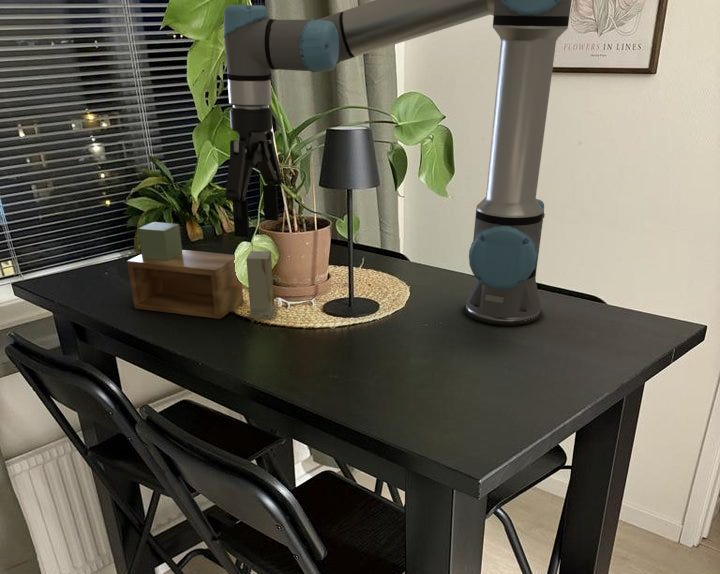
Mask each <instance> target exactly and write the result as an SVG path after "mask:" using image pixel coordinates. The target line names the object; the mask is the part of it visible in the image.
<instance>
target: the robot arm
mask: <svg viewBox="0 0 720 574" xmlns="http://www.w3.org/2000/svg"><path fill="white" fill-rule="evenodd" d="M572 1H573V0H371V1H368V2H365V3H363V4H360V5H357V6H354V7H351V8H348V9H345V10H343V11H339V12H336V13H332V14H330V15H327V16H324V17H321V18H314V19H313V18H312V19H310V18H309V19H276V18H275V19H274V18H269V13H268V9H267V7H266V6H265V5H260V4H259V5H257V4H254V5H252V4H229V5H227V6H226V7H225V8H224V9H223V40H224V48H225V49H224V50H225V60H226V61H225V62H226V70H227V71H226V73H227V74H226V77H227V85H226V90H227V91H228V103H229V104H230V106H232V107H230V109H229V120H230V121H229V123H230V129H231V130H232V131H233V132H237V134H238V140H236V139H231V140H230V141H229V161H228V170H227V178H226V186H225V193H224V196H225V199H226V200H227V201H231V202H232V215H233V216H232V217H233V231H234V237H238V238H250V237H251V236H250V234H251V233H250V216H249V202H248V200H247V199H246V196H247V192H248V188H249V184H250V179H251V175H252V172H253V169H254V168H255V167H256V166H257V168H258V171H259V173H260V175H261V178H262V180H263V182H264V184H263V185H262V197H263V198H262V199H263V200H262V201H263V218H264V220H265V221H274V222H275V221H277V222H278V221H279V203H278V186H282V185H283V179H282V178H283V177H282V172H281V167H280V163H279V158H278V154H277V151H276V146H275V141H274V139H275V138H274V132H273V131H271V130H272V129H273V110H272V109H271V108H270V106H271V104H272V103H273V100H272V99H273V98H272V84H271V83H272V82H271V70H273V71H274V70H275V71H277V70H283V71H297V72H299V71H301V72H311V73H320V72H331V71H333V70H334V69H335V68H336V65H337V64H340V63H341V62H344V61H347V60H351V59H353V58H356V57H359V56H362V55H366V54H369V53H372V52H375V51H378V50H382V49H385V48H389V47H391V46H395V45H397V44H398V45H399V44H401V43H403V42H408V41H410V40H414V39H417V38H421V37H423V36H427V35H430V34H433V33H437V32H439V31H442V30H446V29H449V28H452V27H455V26H458V25H462V24H464V23H468V22H471V21H474V20H477V19H481V18H484V17H487V16H493V17H492V28H493V30H494V32H495V33H496V34H497V35H498V37H499V39H500V47H499V57H498V67H497V68H498V69H497V80H496V88H495V99H494V110H493V121H492V129H491V131H492V132H491V142H490V152H489V162H488V172H487V183H486V194H485V197H484V198H483V199H482V200H481V201H480V202H479V203H478V204H477V205H476V208H475V219H474V227H473V228H474V230H473V240H472V242H471V244H470V248H469V251H468V263H469V267H470V270H471V272H472V274H473V276H474V278H475V279H474V282H473V284H472V287H471V289H470V292H469V293H468V296H467V298H466V302H465V315H467V316H468V317H469V318H471V319H473V320H474V321H478V322H479V323H484V324H489V325H492V326H494V325H495V326H506V327H507V326H508V327H509V326H510V327H511V326H513V327H514V326H523V325H527V324H531V323H534V322H535V321H537V320H539V318H540V316H541V310H542V309H541V308H542V306H541V299H540V296H539V290H538V285H537V279H536V277H537V269H538V262H539V255H540V254H539V253H540V248H541V247H540V246H541V239H542V238H541V237H542V230H543V222H544V219H545V215H546V214H545V202H544V201H542V199H538V198H537V192H538V184H539V177H540V176H539V175H540V170H541V169H540V168H541V161H542V155H543V154H542V153H543V146H544V137H545V130H546V124H547V123H546V121H547V116H548V115H547V114H548V109H549V108H548V107H549V100H550V92H551V84H552V78H553V77H552V76H553V68H554V61H555V54H556V53H555V52H556V45H557V41H558V39H559V38H560V37H561V36H562V34H564V33H565V32H566V31H567V30H568V29H569V22H570V15H571V9H572ZM539 313H540V314H539ZM538 314H539V315H538ZM537 315H538V316H537ZM536 316H537V317H536ZM534 317H535V318H534ZM532 318H533V319H532ZM529 319H530V320H529ZM525 320H526V321H525Z"/></svg>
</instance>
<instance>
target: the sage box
mask: <svg viewBox="0 0 720 574" xmlns="http://www.w3.org/2000/svg"><path fill="white" fill-rule="evenodd" d="M180 229H181V228H180V224H179V223H171V222H161V221H160V222H159V221H152V222H150V223H147V224H145V225H143V226H140V227H138V228H137V232H138V240H139V246H140V252H141V254H142V258H143V259H153V260H163V261H169V260H171V259H173V258H175V257H176V256H178V255H180V254H182V250H183V244H182V238H181V237H182V236H181V230H180Z"/></svg>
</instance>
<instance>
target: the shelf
mask: <svg viewBox="0 0 720 574" xmlns="http://www.w3.org/2000/svg"><path fill="white" fill-rule="evenodd" d="M235 255H236V254H229V253H219V252H210V251H200V250H199V251H198V250H189V249H182V254H180V255H178V256H176V257H175V258H173V259H171V260H169V261H163V260H153V259H143V258H142V254H139V255H137V256H133V257H132V258H130V259H128V260H126V263H127V269H128V270H127V271H128V275H129V282H130V288H131V289H130V290H131V294H132V301H133V307H134V309H138V310H144V311H153V312H160V313H168V314H176V315H184V316H193V317H202V318H208V319H217V320H221V319H223V318H224V317H225V316H226V315H228V314H230V313H231V312H232V311H233V310H235V309H236V308H237V307H239V306H240V305H241V304H244V290H243V282H242V283H241V282H240V281H239V280H238V278H237V276H236V272H235V263H234V260H235Z"/></svg>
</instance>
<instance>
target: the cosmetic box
mask: <svg viewBox="0 0 720 574" xmlns="http://www.w3.org/2000/svg"><path fill="white" fill-rule="evenodd" d="M272 259H273V258H272V251H271V250H251V251H249V253H248V255H247V257H246V260H245V261H246V271H247V285H248V297H249V310H250V319H272V317H273V315H274V313H275V294H274V292H275V291H274V277H273V276H274V275H273V264H272V263H273V261H272Z"/></svg>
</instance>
